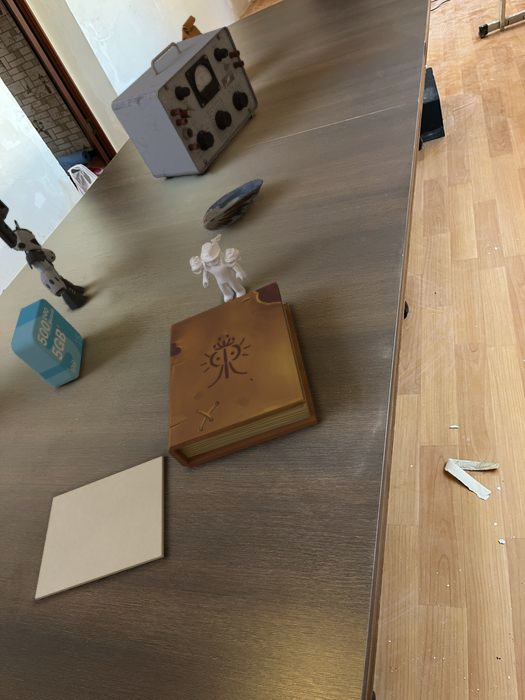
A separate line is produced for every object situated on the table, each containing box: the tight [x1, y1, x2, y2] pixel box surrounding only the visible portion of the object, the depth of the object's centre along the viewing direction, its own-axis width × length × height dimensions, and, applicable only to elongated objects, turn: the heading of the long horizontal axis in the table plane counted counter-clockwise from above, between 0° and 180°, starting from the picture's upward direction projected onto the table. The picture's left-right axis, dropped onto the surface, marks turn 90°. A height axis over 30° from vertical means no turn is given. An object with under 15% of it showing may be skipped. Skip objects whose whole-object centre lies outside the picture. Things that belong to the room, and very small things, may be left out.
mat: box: [34, 455, 165, 601], centre depth 64 cm, size 18×14×1 cm
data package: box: [10, 298, 84, 388], centre depth 88 cm, size 12×4×12 cm, turn 11°
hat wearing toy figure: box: [189, 233, 247, 303], centre depth 82 cm, size 9×4×12 cm, turn 80°
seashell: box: [201, 178, 264, 232], centre depth 101 cm, size 15×12×5 cm
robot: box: [12, 219, 89, 311], centre depth 101 cm, size 20×5×20 cm, turn 28°
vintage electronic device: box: [110, 26, 259, 180], centre depth 124 cm, size 32×18×25 cm, turn 150°
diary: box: [167, 281, 319, 468], centre depth 69 cm, size 23×19×6 cm
